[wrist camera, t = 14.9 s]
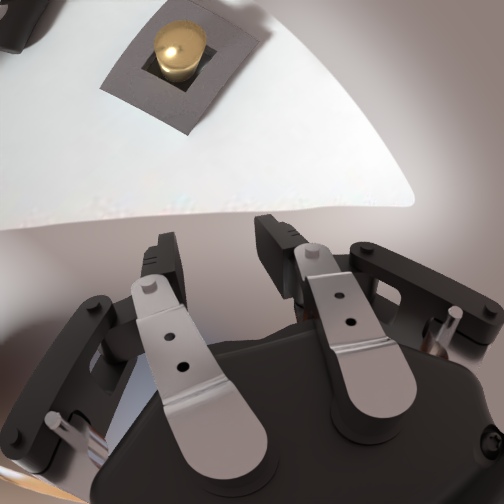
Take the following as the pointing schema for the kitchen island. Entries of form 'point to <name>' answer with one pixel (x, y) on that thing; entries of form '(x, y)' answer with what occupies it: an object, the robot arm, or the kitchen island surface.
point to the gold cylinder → (179, 49)
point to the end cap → (19, 23)
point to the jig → (161, 92)
